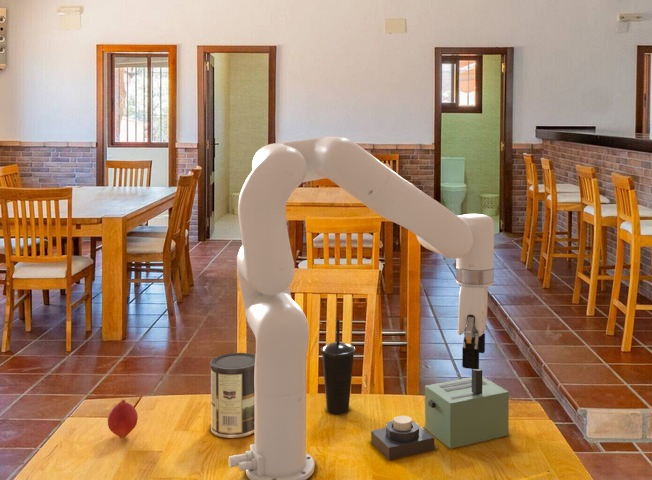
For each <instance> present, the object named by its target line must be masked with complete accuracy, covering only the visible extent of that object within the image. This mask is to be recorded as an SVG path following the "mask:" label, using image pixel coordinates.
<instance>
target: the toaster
mask: <svg viewBox="0 0 652 480" xmlns="http://www.w3.org/2000/svg"><path fill="white" fill-rule="evenodd" d="M509 397H510V392H509V391H508V390H506V389H505V388H503V387H502V386H500V385H498V384H496V383H495V382H493V381H491V380H489V378H486V377H484V376H483V375H482V393H481V394H474V393H473V392H472V376H471V377H465V378H464V377H463V378H458V379H454V380H449V381H444V382H438V383H432V384H427V385H424V430H426V431H427V432H428V433H429V434H431V435H432V436H433V437H434V438H436V439H438V440H439V441H440V442H441V443H442V444H444V445H445V447H447V448H449V449H455V448H460V447H464V446H468V445H472V444H476V443H477V444H478V443H481V442H485V441H489V440H494V439H499V438H502V437H507V436H509V433H510V432H509V429H510V428H509V426H510V425H509V424H510V423H509V419H510V417H509V415H510V414H509V412H510V408H509V407H510V406H509V405H510V403H509V402H510V399H509Z"/></svg>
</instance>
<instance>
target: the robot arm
mask: <svg viewBox="0 0 652 480" xmlns="http://www.w3.org/2000/svg"><path fill="white" fill-rule="evenodd" d="M251 170H252V171H251V172H250V173H249V175H248V176H247V177H246V179H245V182H244V183H243V185H242V188H241V190H240V193H239V197H238V204H237V215H238V216H237V217H238V223H239V230H240V238H241V239H240V240H241V246H240V248H239V250H238V253H237V256H236V269H237V277H238V282H239V285H240V286H239V287H240V292H241V298H242V303H243V309H244V313H245V318H246V321H247V324H248V326H249V328H250V330H251V331H252V333H253V335H254V337H255V355H256V356H255V369H254V396H255V432H254V443H251V444H249V450H245V451H244V453H241V454H234V455H229V456H228V461H227V463H228V467H229V468H230V469H232V468H236V467H238V470H239V472H243V471H245V474H246V477H247V478H248V479H249V480H308V479H309V478H310V477H311V476H312V475H313V474H314V472H315V465H316V464H315V459H314V458H313V456H311V455H310V454H309V453H307V358H308V349H309V343H310V342H309V341H310V326H309V321H308V318H307V316H306V314H305V312H304V311H303V309H302V308H301V306H300V305H299V304H298V303H297V302H296V301H295V300H294V299H293V298H292V294H291V287H290V286H291V285H292V283H293V281H294V277H295V269H296V268H295V260H294V256H293V252H292V247H291V242H290V237H289V231H288V224H287V215H286V214H287V211H286V208H287V204H288V201H289V198H290V196H291V195H292V193H293V192H294V191H295V190H296V189H297V188H298V187H300V185H302V184H303V183H307V182H312V181H318V180H323V179H324V180H325V179H327V180H329V181H331V182H332V183H334V184H335V185H337V186H338V187H339V188H341V189H342V190H344V191H345V192H346V193H348V194H349V195H351V196H352V197H354V198H355V199H356V200H357V201H359V202H360V203H362V204H363V205H364V206H366V207H367V208H368V209H369V210H371V211H372V212H373V213H375V214H376V215H378V216H380V217H382V218H384V219H386V220H387V221H390V222H392V223H395V224H397V225H399V226H401V227H402V228H404V229H406V230H408V231H409V232H411V233H413V234H414V235H415V236H416V239H417V241H418V243H419V244H420V245H421V246H422V247H424V249H426V250H428V251H431V252H433V253H436V254H438V255H440V256H443V257H445V258H448V259H452V260H455V261H456V262H455V283H456V284H457V285H459V286H460V287H459V296H458V313H457V316H458V317H457V335H459V336H462V335H463V341H462V351H461V352H462V353H461V354H462V356H461V357H462V358H461V359H462V363H461V365H462V366H461V367H462V368H463V369H470V370H472V369H478V368H480V354H484V353H486V333H485V330H486V327H487V323H488V322H487V321H488V307H489V305H488V304H489V302H488V301H489V299H488V298H489V291H488V290H489V287H492V286H493V285H494V277H495V275H494V271H495V270H494V268H495V264H494V262H495V261H494V260H495V222H494V220H493V217H491V216H489V215H488V214H481V213H466V214H461V215H456V214H455V213H454V212H452V211H451V210H450V209H449V208H447V207H446V206H444V205H443V204H442V203H441V202H439V201H437V200H436V199H434V198H433V197H431V196H430V195H428V194H427V193H425V192H423V191H422V190H420V189H419V188H418V187H417V186H415V185H414V184H413V183H411V182H410V181H408V180H406V179H405V178H403V177H402V176H400V175H399V174H398V173H396V172H395V171H394V170H392V169H391V168H389V167H388V166H386V165H385V164H384V163H383V162H382V161H380V160H379V159H378V158H376V157H375V156H374V155H372V154H371V153H370V152H369V151H367V150H366V149H364V148H363V147H362V146H360V145H359V144H358V143H356V142H355V141H353V140H351V139H350V138H347V137H342V136H334V135H333V136H332V135H331V136H329V135H328V136H321V137H313V138H308V139H300V140H299V139H298V140H292V141H285V142H283V141H282V142H276V143H275V142H274V143H269V144H266V145H264V146H262V147H261V148H259V149H258V150H257V151H256V152H255V155H254V156H253V159H252V163H251Z"/></svg>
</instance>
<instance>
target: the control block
mask: <svg viewBox="0 0 652 480" xmlns="http://www.w3.org/2000/svg"><path fill="white" fill-rule="evenodd" d="M370 443H371V444H372V445H373V446H374V447H375V448H376V449H377V450H378V451H379V452H380V453H381V454H382V455H384V456H385V458H386V459H388V461H391V460H396V459H399V458H400V459H401V458H404V457H408V456H413V455H417V454H422V453H426V452H430V451H434V450H435V436H434V435H433V434H431V433H430V432H429V431H428V430H426V429H425V428H423V427H422V426H421V425H420V424H418V422H416V421H415V420H412V428H411V430H407V431H399V430H395V429H394V428H393V419H392V420H389V421H388V422H387V423H385V427H383V428H382V427H381V428H378V429H372V430H371V431H370Z"/></svg>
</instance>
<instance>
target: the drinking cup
mask: <svg viewBox="0 0 652 480" xmlns="http://www.w3.org/2000/svg"><path fill="white" fill-rule="evenodd" d="M335 321H336V327H335V329H336V330H335V331H336V332H335V333H336V338H335V339H336V341H333V342H330V343H328V344H325V345H323V346H322V347H321V348H320V353H321V356H322V358H321V359H322V366H323V367H322V368H323V379H324V391H325V393H324V394H325V402H326V403H325V405H326V410H327V413H329V414H332V415H343V414H344V415H345V414H346V413H348V412H349V409H350V398H351V390H352V389H351V388H352V387H351V386H352V378H353V377H352V376H353V368H354V367H353V365H354V354H355V352H356V348H355V346H354V345H351V344H348V343H346V342H342V341H340V340H341V339H340V335H341V334H340V329H341V328H340V325H341V324H340V319H336V320H335Z"/></svg>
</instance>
